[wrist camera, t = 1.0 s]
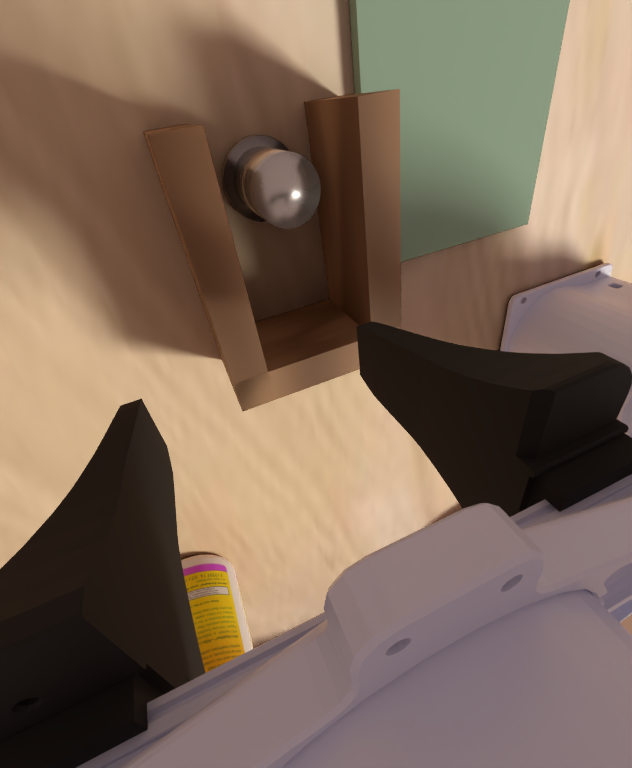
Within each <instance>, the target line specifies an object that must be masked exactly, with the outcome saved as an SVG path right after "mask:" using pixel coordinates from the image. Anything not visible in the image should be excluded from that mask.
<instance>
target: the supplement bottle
mask: <svg viewBox="0 0 632 768" xmlns="http://www.w3.org/2000/svg"><path fill="white" fill-rule="evenodd" d="M181 563H182V568H183V573H184V579H185V584H186V588H187V593H188V598H189V603H190V608H191V613H192V617H193V622H194V626H195V631H196V635H197V640H198V644H199V648H200V653H201V657H202V661H203V665H204V669H205V673H207V672H209V671H211V670H213V669H215V668H217V667H219V666H220V665H222V664H224V663H226V662H228V661H230V660H232V659H234V658H236V657H238V656H240V655H242V654H244V653H246V652H248V651H250V650H252V649H254V648H253V644H252V640H251V636H250V632H249V627H248V623H247V619H246V615H245V611H244V606H243V602H242V598H241V594H240V590H239V586H238V581H237V577H236V574H235V570H234V568H233V566H232V564H231V563H230V562H229V561H228V560H226V559H225V558H223V557H220V556H217V555H196V556H192V557H189V558H185V559H183V560H181Z"/></svg>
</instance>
